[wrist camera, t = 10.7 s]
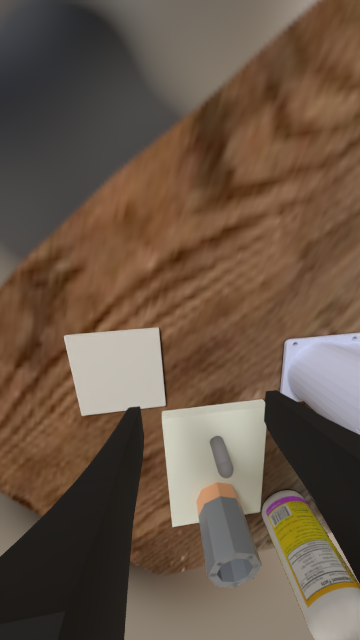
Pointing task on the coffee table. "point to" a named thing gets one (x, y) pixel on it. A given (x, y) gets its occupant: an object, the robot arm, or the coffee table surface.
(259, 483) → the pin board
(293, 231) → the coffee table surface
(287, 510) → the supplement bottle
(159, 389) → the pad
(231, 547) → the sleeve
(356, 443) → the robot arm
